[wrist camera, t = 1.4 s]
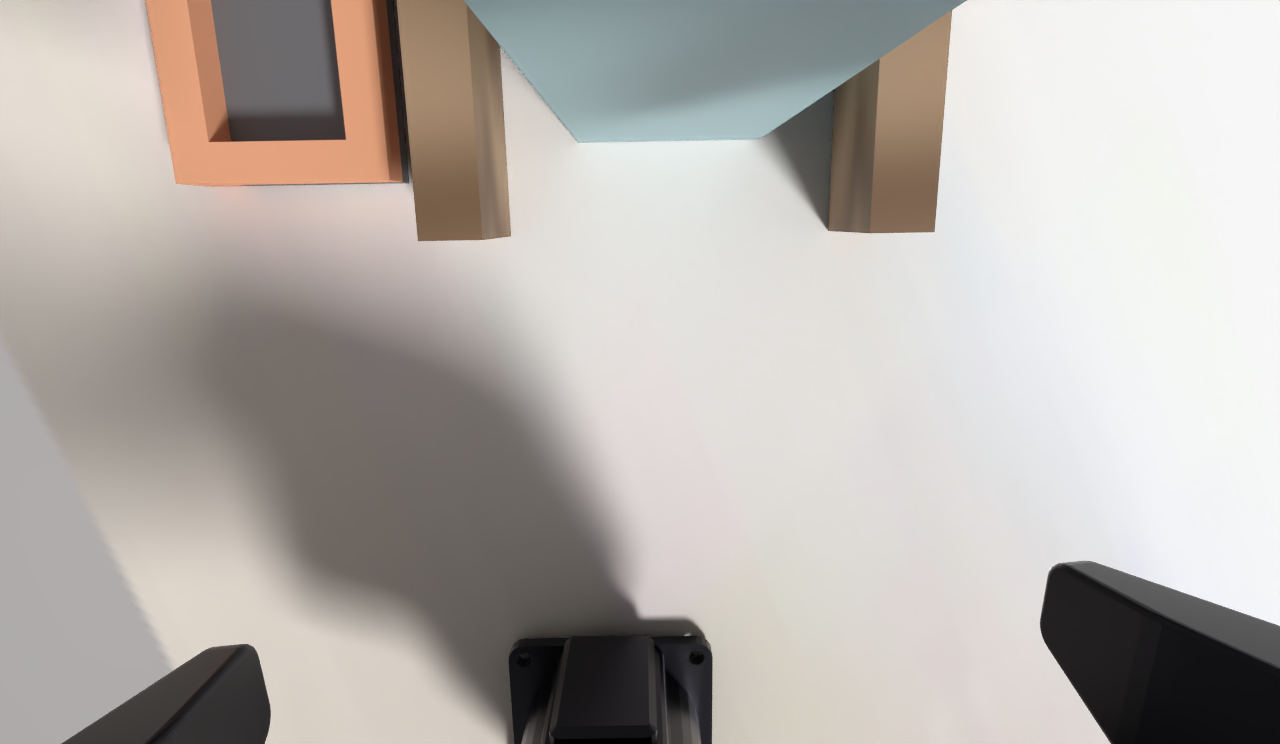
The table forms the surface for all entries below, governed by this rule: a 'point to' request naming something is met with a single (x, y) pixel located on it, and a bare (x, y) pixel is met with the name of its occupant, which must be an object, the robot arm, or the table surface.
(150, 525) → the table surface
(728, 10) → the block
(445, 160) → the channel
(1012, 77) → the table surface
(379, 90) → the frame
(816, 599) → the table surface
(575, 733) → the robot arm
